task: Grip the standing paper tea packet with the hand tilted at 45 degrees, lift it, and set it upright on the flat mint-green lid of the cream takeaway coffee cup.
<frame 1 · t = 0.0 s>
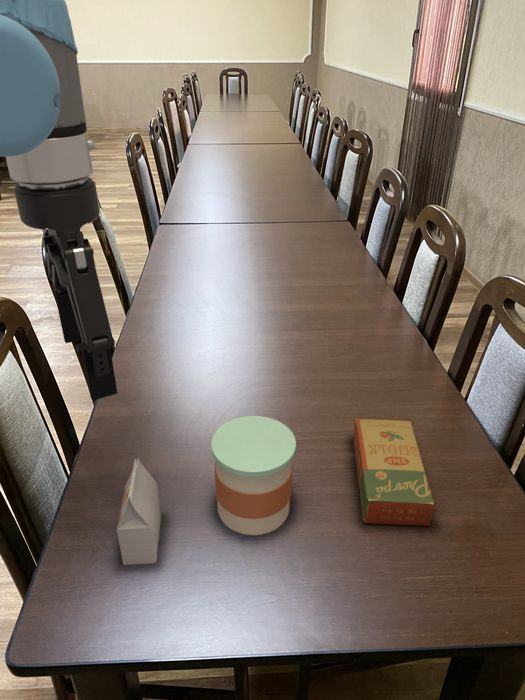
hand: (89, 365, 63), 19 cm above the table, tool pointing down, fingers open, 13 cm apart
carton: (387, 480, 73), on the table
paper tea packet: (143, 541, 64), on the table
coffee cup: (253, 506, 69), on the table
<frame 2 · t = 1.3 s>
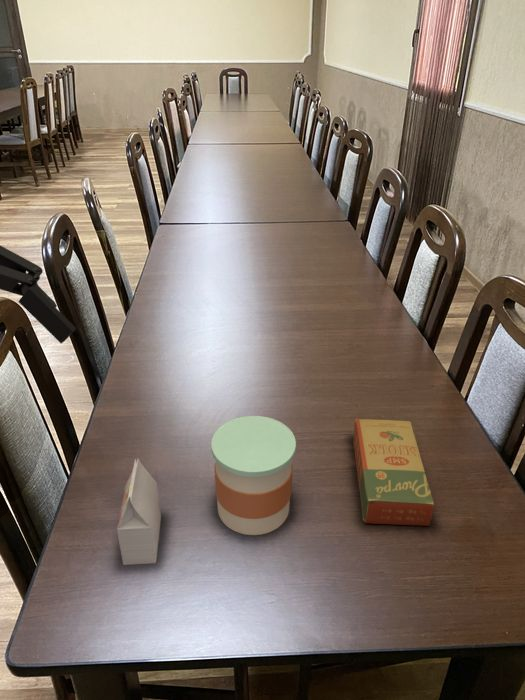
hand: (29, 367, 55), 23 cm above the table, tool tilted 45°, fingers open, 13 cm apart
nothing on the table moved.
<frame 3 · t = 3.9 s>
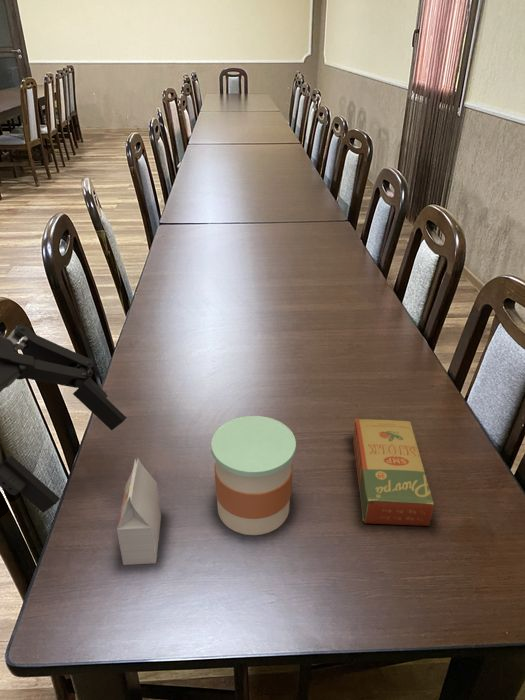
hand: (88, 461, 60), 11 cm above the table, tool tilted 45°, fingers open, 13 cm apart
nothing on the table moved.
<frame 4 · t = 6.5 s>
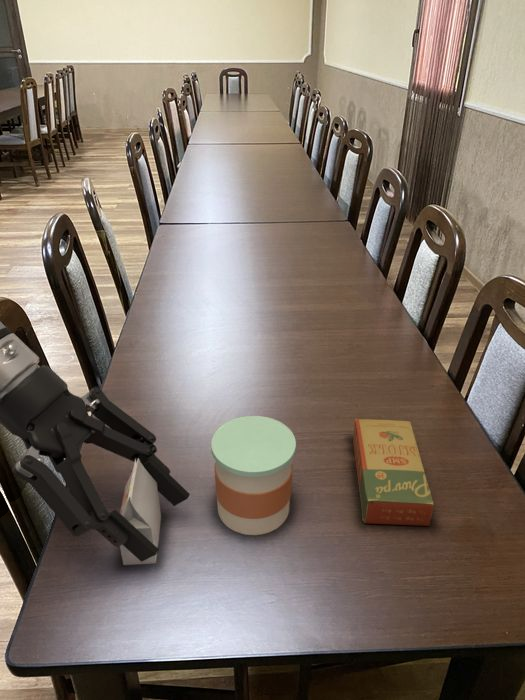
hand: (166, 526, 62), 4 cm above the table, tool tilted 45°, fingers closed on paper tea packet, 8 cm apart
paper tea packet: (143, 541, 64), on the table, touching gripper
everything else where it was.
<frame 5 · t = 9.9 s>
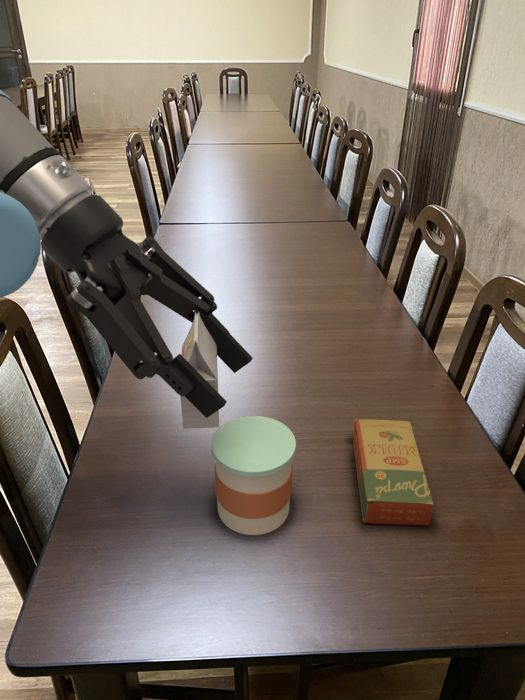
hand: (230, 386, 56), 21 cm above the table, tool tilted 45°, fingers closed on paper tea packet, 8 cm apart
paper tea packet: (201, 409, 58), point 17 cm above the table, touching gripper
everything else where it was.
when the fingers open (14 cm above the table, at t = 13.1 s): paper tea packet stays where it is, resting on coffee cup.
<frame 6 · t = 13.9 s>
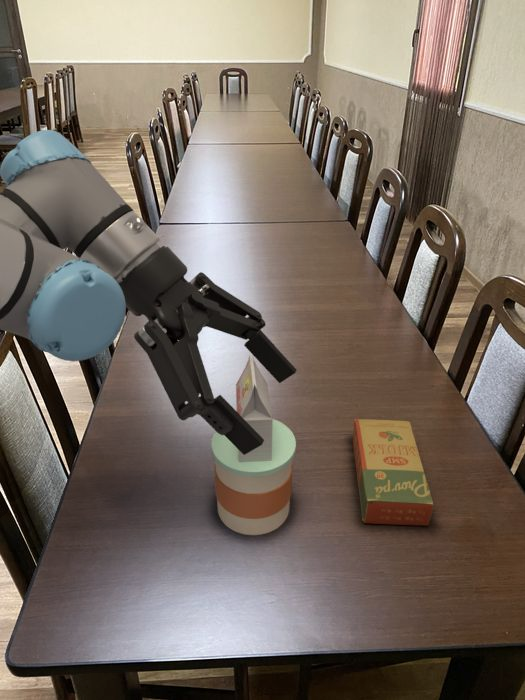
hand: (272, 409, 60), 16 cm above the table, tool tilted 45°, fingers open, 13 cm apart
paper tea packet: (253, 442, 64), point 11 cm above the table, touching coffee cup
everything else where it was.
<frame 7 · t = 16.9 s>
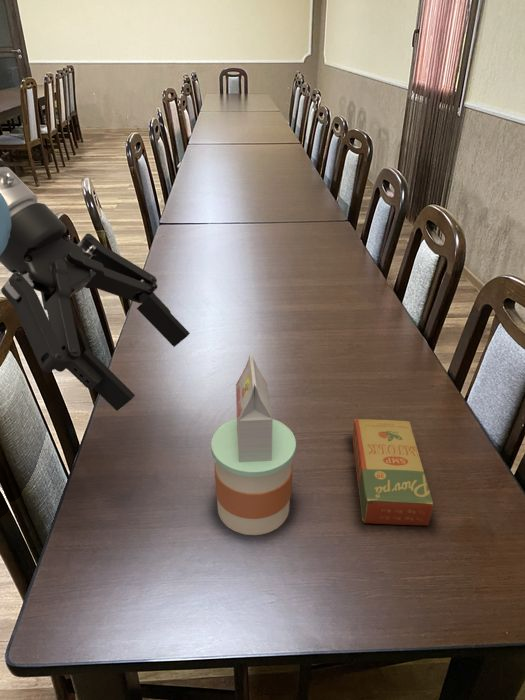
hand: (156, 369, 60), 20 cm above the table, tool tilted 45°, fingers open, 13 cm apart
nothing on the table moved.
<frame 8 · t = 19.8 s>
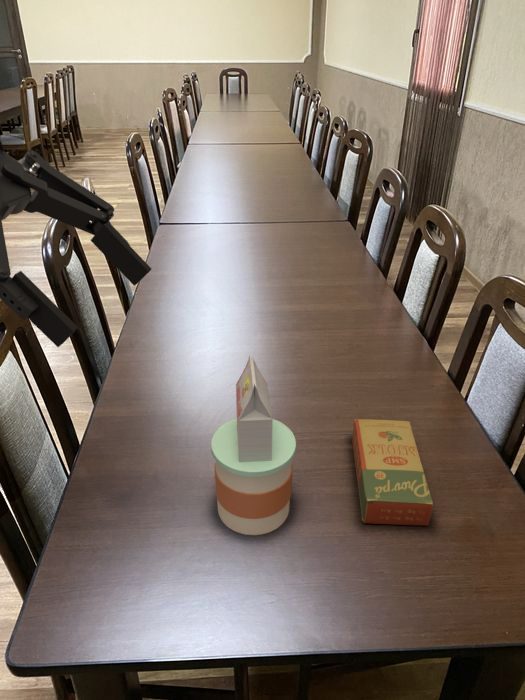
hand: (110, 304, 52), 30 cm above the table, tool tilted 45°, fingers open, 13 cm apart
nothing on the table moved.
at the end: paper tea packet 0.0 cm off-centre on the coffee cup, point 10.6 cm above the coffee cup's base; paper tea packet tilted 0°; the gripper is holding nothing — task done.
